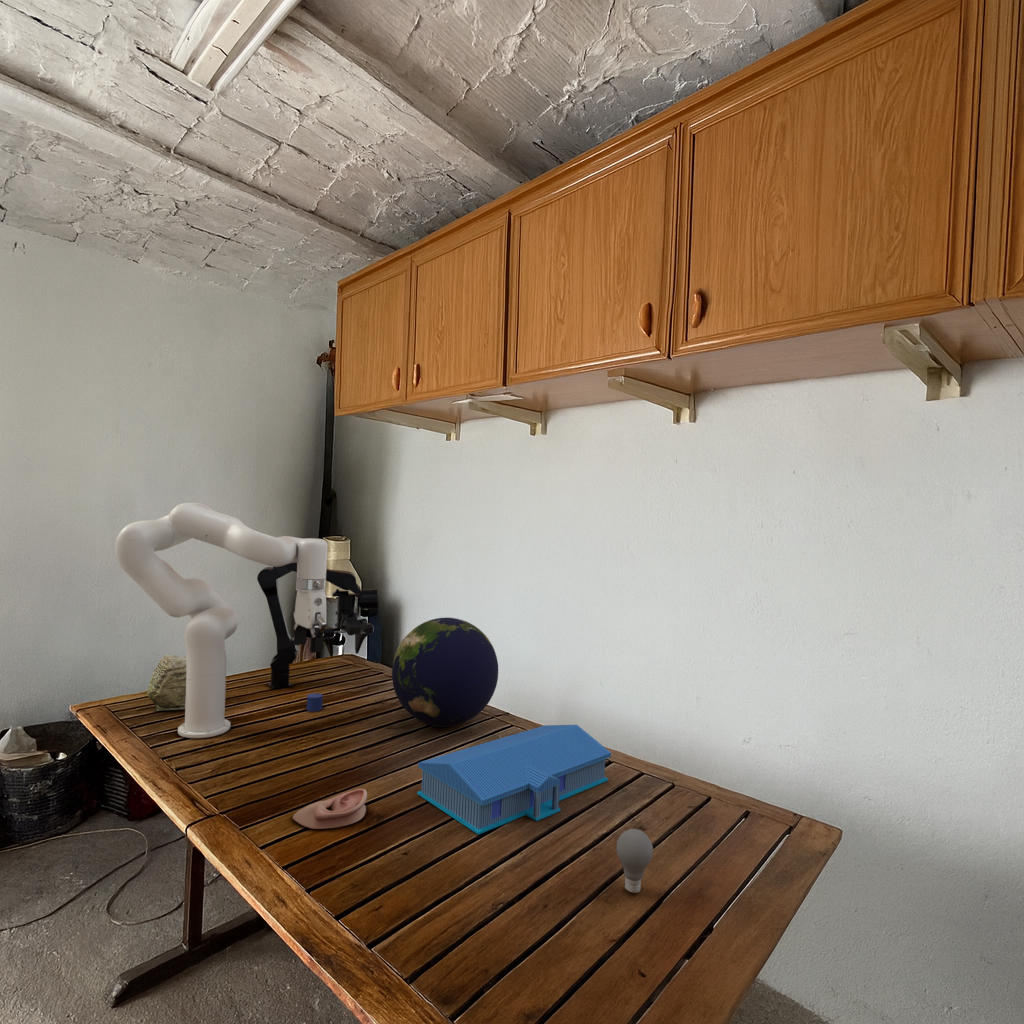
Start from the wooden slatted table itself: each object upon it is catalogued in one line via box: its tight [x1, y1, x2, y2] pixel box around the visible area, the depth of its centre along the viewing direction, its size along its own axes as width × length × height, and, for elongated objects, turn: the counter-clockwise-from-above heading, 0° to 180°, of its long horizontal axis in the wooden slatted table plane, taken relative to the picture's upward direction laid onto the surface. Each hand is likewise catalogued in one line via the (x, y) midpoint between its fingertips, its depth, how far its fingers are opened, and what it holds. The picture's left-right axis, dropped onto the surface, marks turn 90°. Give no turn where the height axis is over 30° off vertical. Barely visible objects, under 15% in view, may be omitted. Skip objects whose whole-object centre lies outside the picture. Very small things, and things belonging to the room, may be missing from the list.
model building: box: [416, 724, 612, 835], centre depth 141 cm, size 39×24×10 cm, turn 132°
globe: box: [391, 616, 499, 728], centre depth 179 cm, size 30×30×30 cm
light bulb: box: [615, 828, 654, 894], centre depth 106 cm, size 6×6×10 cm
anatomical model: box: [292, 788, 368, 830], centre depth 126 cm, size 13×4×12 cm
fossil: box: [147, 654, 187, 712], centre depth 185 cm, size 9×18×15 cm, turn 132°
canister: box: [306, 692, 324, 713], centre depth 187 cm, size 4×4×4 cm
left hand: (307, 648), depth 170 cm, fingers open, 9 cm apart
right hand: (344, 655), depth 214 cm, fingers open, 9 cm apart
